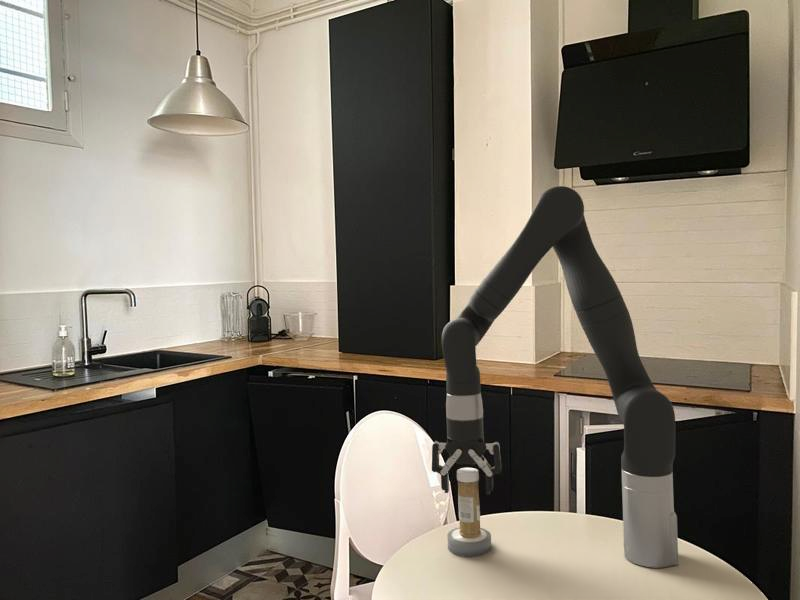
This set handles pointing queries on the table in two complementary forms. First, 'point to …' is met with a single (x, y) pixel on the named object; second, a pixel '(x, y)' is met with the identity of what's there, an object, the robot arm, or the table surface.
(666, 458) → the robot arm
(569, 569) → the table surface
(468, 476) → the sprinkles bottle
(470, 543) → the stand
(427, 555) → the table surface
